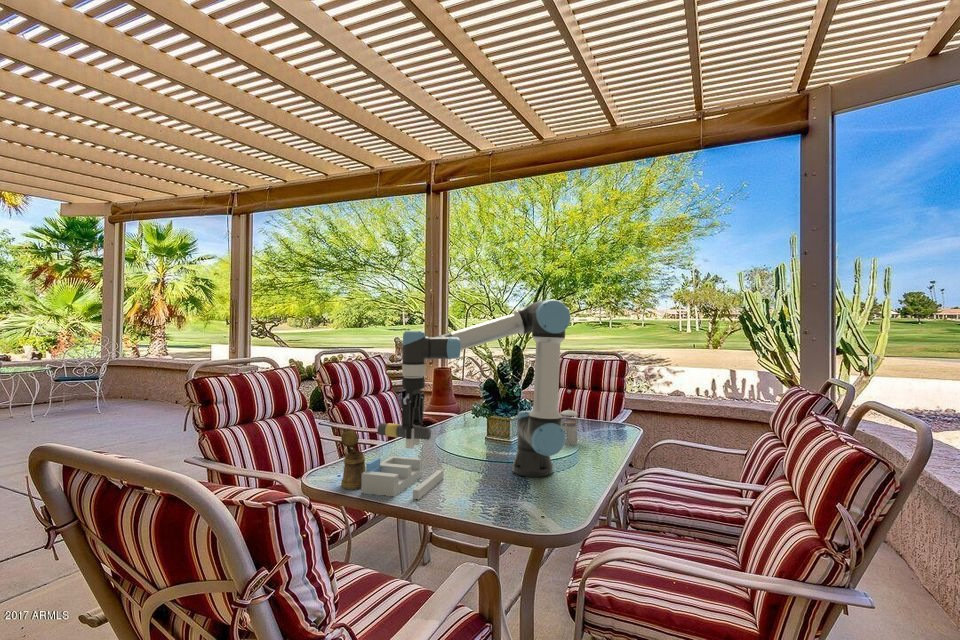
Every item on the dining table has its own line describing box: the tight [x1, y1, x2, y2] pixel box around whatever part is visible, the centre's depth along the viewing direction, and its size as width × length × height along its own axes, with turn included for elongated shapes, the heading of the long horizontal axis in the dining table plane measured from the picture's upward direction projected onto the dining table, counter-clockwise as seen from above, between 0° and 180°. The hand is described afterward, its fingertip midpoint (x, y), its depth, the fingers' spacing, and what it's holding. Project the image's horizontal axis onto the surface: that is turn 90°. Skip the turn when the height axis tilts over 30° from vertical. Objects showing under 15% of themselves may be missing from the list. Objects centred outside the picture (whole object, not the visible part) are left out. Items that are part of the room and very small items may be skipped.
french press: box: [560, 389, 580, 446], centre depth 227 cm, size 10×12×25 cm
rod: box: [377, 422, 432, 441], centre depth 160 cm, size 18×4×4 cm, turn 73°
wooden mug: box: [340, 428, 366, 490], centre depth 167 cm, size 9×14×18 cm, turn 30°
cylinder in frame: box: [360, 455, 444, 501], centre depth 164 cm, size 20×22×9 cm
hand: (412, 446), depth 159 cm, fingers closed on rod, 4 cm apart
